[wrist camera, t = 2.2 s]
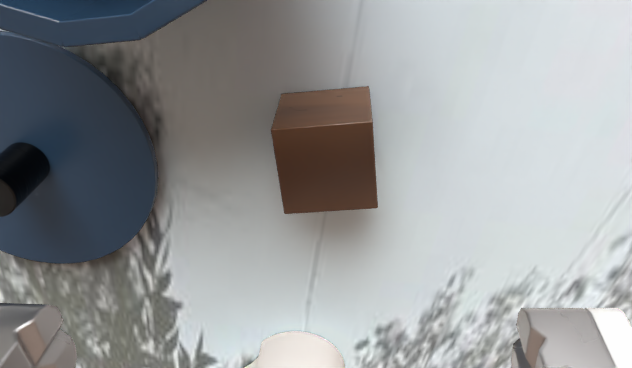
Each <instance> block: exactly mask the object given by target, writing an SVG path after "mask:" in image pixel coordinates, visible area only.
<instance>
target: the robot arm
mask: <svg viewBox="0 0 632 368" xmlns="http://www.w3.org/2000/svg"><path fill="white" fill-rule="evenodd" d="M63 321H64V319H63V317H62V315H61V313H60V311H59V309H58V307H57V306H52V305H42V304H13V303H0V368H75V367H76V362H77V352H76V346H75V343H74V341H73V339H72V337H71V336H70V335H68V334H67V333H66V332H64V331H63V330H62V329H61V328H60V327H61V325H62V323H63ZM516 326H517V330H518V333H519V337H520V339H518V340H517V341H516V342H515V343H514V344H513V349H512V357H511V364H512V368H632V326H631V324H630V322H629V320H628V318H627V316H626V315H625V313H624V312H623V311H622V310H620V309H619V308H585V309H583V308H521V309H520V311H519V313H518V318H517V323H516Z"/></svg>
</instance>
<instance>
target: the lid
mask: <svg viewBox="0 0 632 368" xmlns="http://www.w3.org/2000/svg"><path fill="white" fill-rule="evenodd" d="M157 187H158V168H157V161H156V156H155V151H154V147H153V145H152V142H151V139H150V136H149V133H148V131H147V129H146V127H145V125H144V123H143V121H142V119H141V118H140V116H139V115H138V113H137V112H136V110H135V109H134V107H133V106H132V104H131V103H130V101H129V100H128V99H127V98H126V97H125V95H124V94H123V93H122V92H121V91H120V89H119V88H118V87H117V86H116V85H115V84H113V83H112V82H111V81H110V80H109V79H108V78H107V77H106V76H105V75H104V74H103V73H101V72H100V71H99V70H98V69H96V68H95V67H94V66H92V65H91V64H90V63H88V62H87V61H85V60H84V59H82V58H80V57H79V56H77V55H75V54H74V53H72V52H70V51H68V50H66V49H64V48H62V47H60V46H58V45H55V44H51V43H48V42H44V41H41V40H37V39H34V38H31V37H27V36H24V35H20V34H17V33H13V32H4V31H0V250H1V251H3V252H6V253H8V254H11V255H14V256H18V257H21V258H24V259H29V260H34V261H38V262H46V263H79V262H86V261H90V260H94V259H98V258H100V257H103V256H106V255H108V254H111V253H112V252H114V251H116V250H118V249H120V248H121V247H123V246H124V245H125V244H126V243H128V242H129V241H130V240H132V238H133V237H134V236H135V235H136V234H137V233H138V232H139V231H140V229H141V228H142V226H143V225H144V223H145V222H146V220H147V219H148V217H149V215H150V212H151V210H152V208H153V206H154V202H155V198H156V194H157Z"/></svg>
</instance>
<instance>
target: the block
mask: <svg viewBox="0 0 632 368" xmlns="http://www.w3.org/2000/svg"><path fill="white" fill-rule="evenodd" d="M271 134H272V140H273V146H274V153H275V159H276V165H277V171H278V177H279V183H280V189H281V195H282V202H283V208H284V213H285V214H293V213H308V212H324V211H339V210H355V209H371V208H377V207H378V202H377V186H376V170H375V154H374V137H373V122H372V112H371V102H370V92H369V87H368V86H367V87H355V88H344V89H332V90H320V91H309V92H297V93H286V94H281V98H280V101H279V104H278V108H277V111H276V114H275V118H274V121H273V125H272V128H271Z"/></svg>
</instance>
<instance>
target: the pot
mask: <svg viewBox="0 0 632 368" xmlns="http://www.w3.org/2000/svg"><path fill="white" fill-rule="evenodd" d="M206 1H207V0H0V29H3V30H6V31H10V32H13V33H17V34H20V35H24V36H27V37H31V38H34V39H37V40H41V41H44V42H48V43H51V44H55V45H58V46H62V47H63V46H64V47H74V46H84V45H94V44H104V43H115V42H125V41H135V40H141V39H143V38H146V37H147V36H149V35H151V34H152V33H154V32H156V31H157V30H159V29H161V28H162V27H164V26H166V25H167V24H169V23H171V22H172V21H174V20H176V19H177V18H179V17H181V16H183V15H184V14H186V13H188V12H189V11H191V10H193V9H194V8H196V7H198V6H199V5H201V4H203V3H204V2H206Z"/></svg>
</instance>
